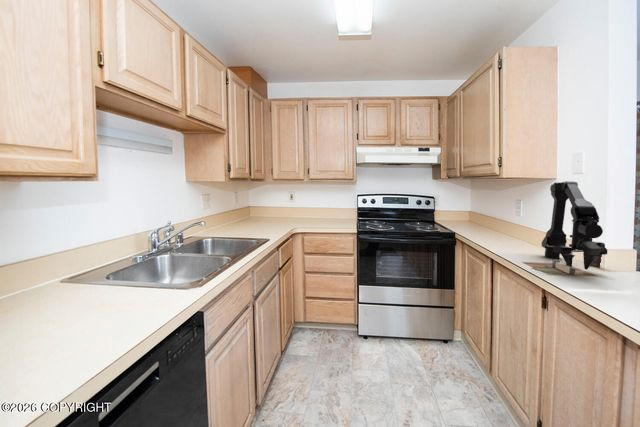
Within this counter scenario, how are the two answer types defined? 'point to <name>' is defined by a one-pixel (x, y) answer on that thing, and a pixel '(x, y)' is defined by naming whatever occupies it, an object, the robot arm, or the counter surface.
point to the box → (596, 261)
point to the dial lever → (563, 267)
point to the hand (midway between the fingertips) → (577, 269)
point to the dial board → (551, 270)
